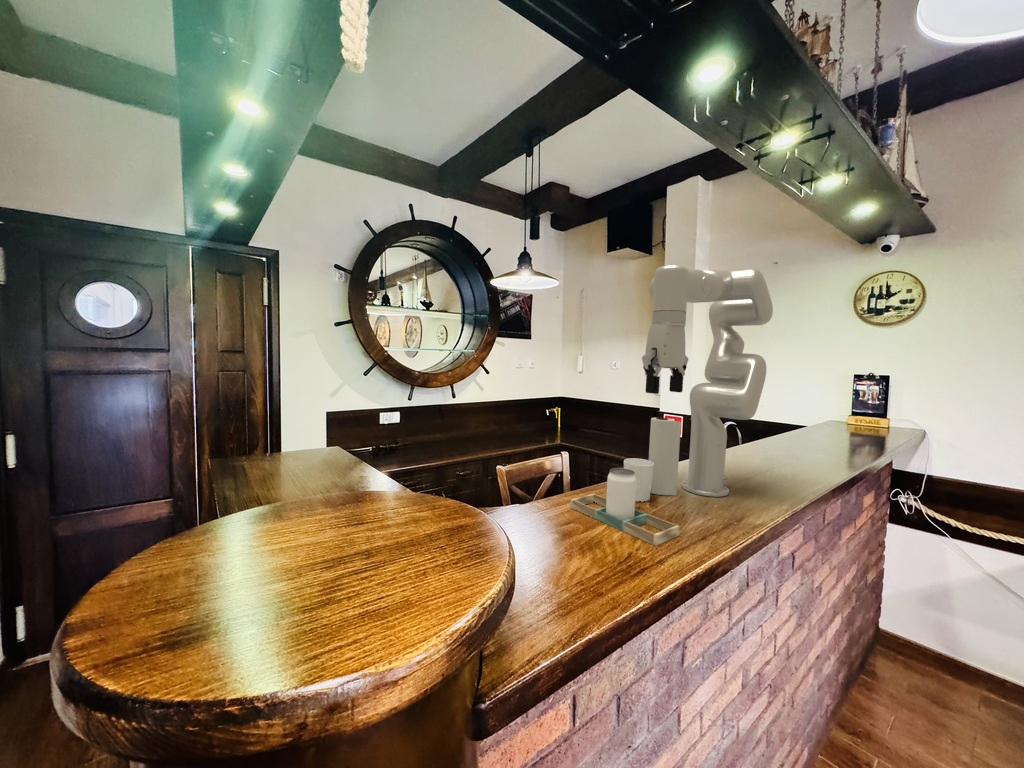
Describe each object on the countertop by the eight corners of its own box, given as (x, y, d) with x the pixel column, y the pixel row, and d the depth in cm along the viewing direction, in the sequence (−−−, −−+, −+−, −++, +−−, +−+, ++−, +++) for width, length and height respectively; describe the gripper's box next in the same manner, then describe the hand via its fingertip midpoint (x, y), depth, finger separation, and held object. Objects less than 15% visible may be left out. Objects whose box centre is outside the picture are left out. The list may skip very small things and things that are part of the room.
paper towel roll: (642, 489, 122) (646, 416, 120) (660, 487, 124) (664, 416, 122) (658, 497, 115) (662, 421, 113) (676, 496, 117) (681, 420, 115)
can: (599, 517, 100) (602, 468, 99) (622, 514, 102) (624, 466, 101) (616, 528, 94) (619, 476, 93) (639, 525, 96) (642, 473, 95)
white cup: (648, 493, 118) (650, 459, 117) (654, 503, 110) (657, 466, 110) (619, 492, 119) (621, 457, 118) (624, 501, 111) (626, 464, 110)
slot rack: (593, 501, 110) (593, 493, 110) (679, 535, 91) (679, 526, 91) (570, 508, 105) (570, 499, 105) (655, 545, 86) (656, 535, 86)
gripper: (674, 323, 106) (670, 390, 108) (632, 318, 96) (628, 392, 97) (703, 322, 100) (698, 392, 102) (661, 316, 90) (656, 395, 91)
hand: (664, 392), depth 99 cm, fingers open, 9 cm apart
